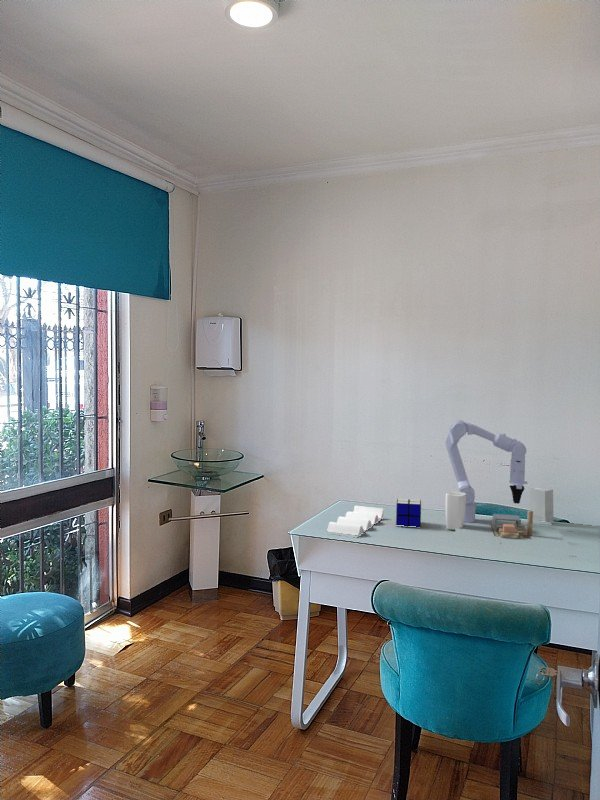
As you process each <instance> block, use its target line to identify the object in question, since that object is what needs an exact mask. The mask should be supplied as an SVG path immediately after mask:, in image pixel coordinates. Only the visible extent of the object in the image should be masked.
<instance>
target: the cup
mask: <svg viewBox="0 0 600 800" xmlns="http://www.w3.org/2000/svg"><path fill="white" fill-rule="evenodd" d="M465 506H466V494H465V493H460V491H459V492H458V491H448V492H447V493H445V525H446V529H447V530H448V529H450V530H449V531H454V530H455V531H456V529H461V528H464V524H465V522H464V517H465Z"/></svg>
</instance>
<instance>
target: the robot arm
mask: <svg viewBox="0 0 600 800" xmlns="http://www.w3.org/2000/svg"><path fill="white" fill-rule="evenodd" d="M466 434H467V435H468V436H470V435H471V436H472V435H475V436H478V437H481V438H483V439H485V440H488V441H490V442H492V444H493V446H494V447H496V448H499V449H501V450H503V451H505V452H508V453H511V456H510V457H511V459H510V467H509V468H510V471H509V472H510V473H509V483H510V484H511V485H509V488H510V491H511V495H512V502H513V504H516V505H517V504H520V502H521V499H522V495H523V492H524V491H525V486H524V485H528V481H525V477H526V476H525V474H526V454H527V448H526V446H525V444H524V443H523V442H521V441H520V440H518V439H517V438H511V437H509V436H507V435H506V433H498V434H495V433H492V432H491V431H489V430H486V429H484V428H482V427H480V426H477V425H476V424H473V423H470V422H467V421H464V420H460V419H459V420H456V421H454V422H453V424H452V425H451V426H450V428H449V430H448V432H447V436H446V438H445V442H444V444H445V447H446V450H447V454H448V457H449V460H450V463H451V467H452V470H453V473H454V476H455V479H456V482H457V487H458V491H459V492H460V493H465V494H466V506H465V517H464V523H467V524H468V523H469V524H470V523H475V522H476V503H477V502H476V501H475V498H476V493H475V489H474V488H473V487H472V486H471V484H470V481H469V479H468V475H467V472H466V468H465V466H464V463H463V460H462V457H461V453H460V450H459V448H458V444H459V442H460V440H461V439H462V438H463V437H464V436H466Z"/></svg>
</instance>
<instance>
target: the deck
mask: <svg viewBox="0 0 600 800" xmlns="http://www.w3.org/2000/svg"><path fill="white" fill-rule="evenodd" d="M503 524H504V523H503ZM503 524H500V523H497V532H494V530H493V527H492V523H489V525H490V529H491V530H492V534H493V536H494V537H500V538H502V537H501V533H499V529H503ZM499 525H501V526H499ZM513 525H514V526H515V530H517V531H524V532H527V528H526V527H525V525H521V528H518V527H517V525H516V524H513ZM518 539H531V540H532V537H531V535H522V534H519V538H518Z"/></svg>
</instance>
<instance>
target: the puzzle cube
mask: <svg viewBox="0 0 600 800" xmlns="http://www.w3.org/2000/svg"><path fill="white" fill-rule="evenodd" d="M421 512H422V500H421V499H413V498H410V499H409V498H397V499H396V512H395V513H396V516H395V517H396V520H395V526H396V525H404V526H416V527H420V528H421V523H422V522H421V521H422V520H421V519H422V513H421Z"/></svg>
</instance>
